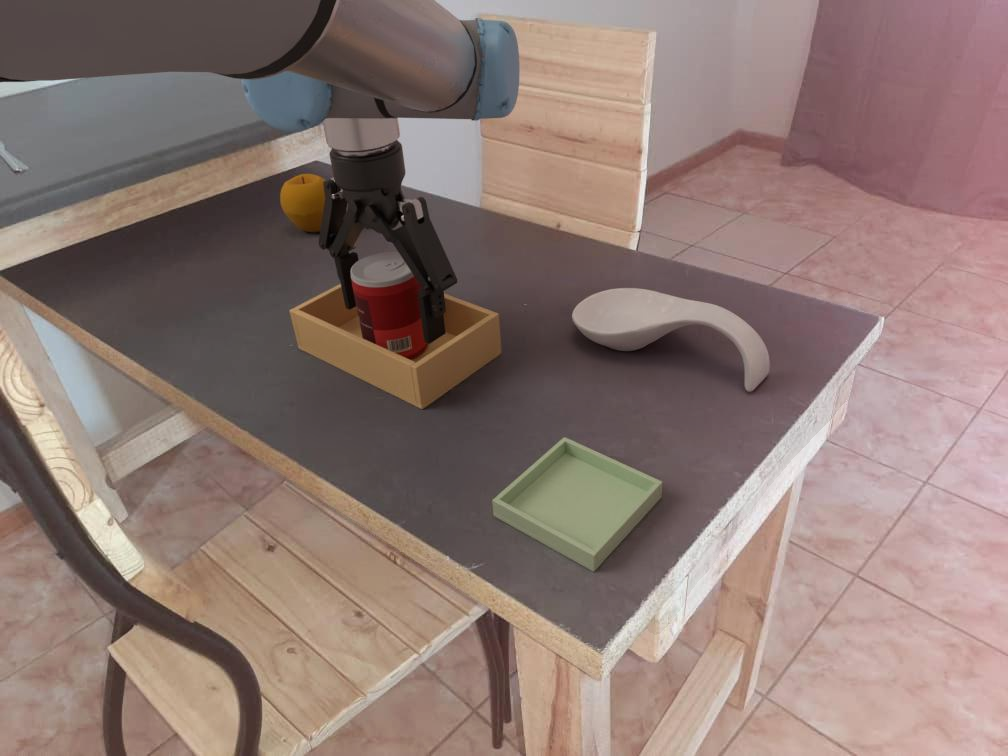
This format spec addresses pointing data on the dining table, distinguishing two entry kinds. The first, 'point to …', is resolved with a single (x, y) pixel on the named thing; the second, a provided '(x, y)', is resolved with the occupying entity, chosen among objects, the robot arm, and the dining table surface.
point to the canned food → (388, 304)
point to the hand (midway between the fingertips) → (394, 320)
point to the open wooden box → (415, 381)
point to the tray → (578, 502)
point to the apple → (304, 201)
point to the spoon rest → (665, 324)
